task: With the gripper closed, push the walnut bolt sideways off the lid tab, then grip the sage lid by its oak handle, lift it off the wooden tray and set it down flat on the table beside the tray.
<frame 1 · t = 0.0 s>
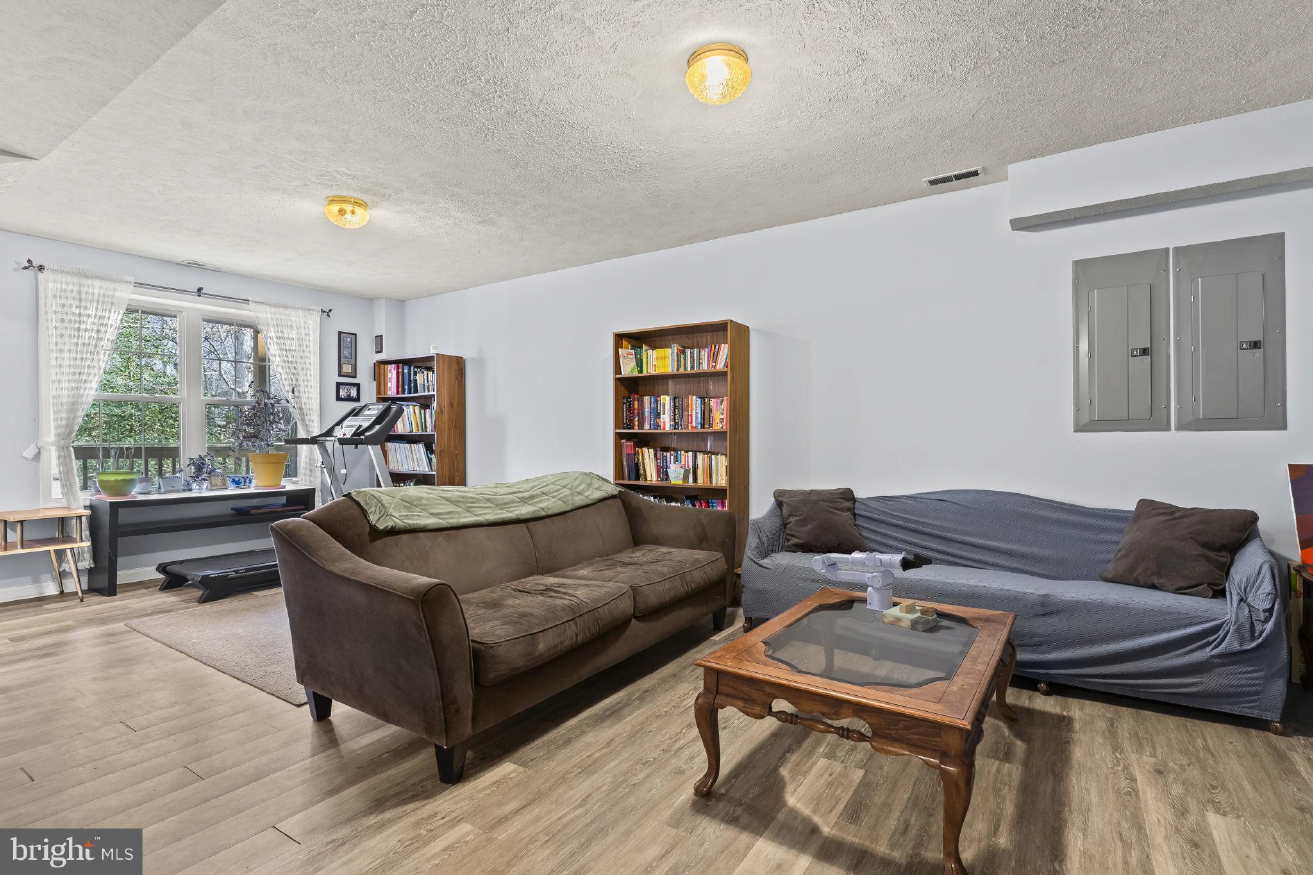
hand: (926, 563, 244), 22 cm above the table, tool horizontal, fingers open, 7 cm apart
bolt: (927, 611, 236), point 5 cm above the table, slide at 0.0 cm
lid: (907, 612, 242), point 3 cm above the table, touching wooden tray
wooden tray: (908, 620, 242), on the table
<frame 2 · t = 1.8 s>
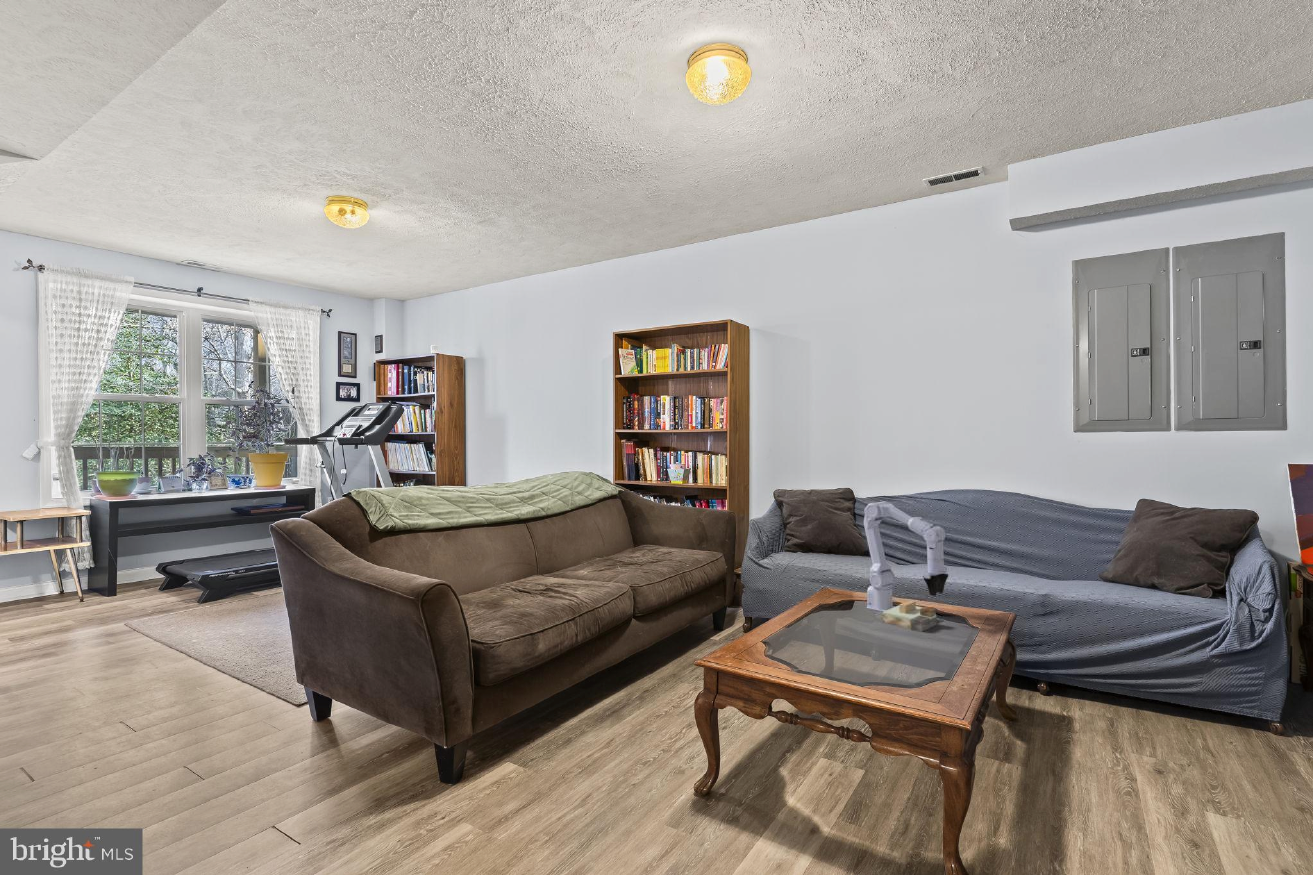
hand: (936, 593, 240), 10 cm above the table, tool pointing down, fingers open, 5 cm apart
nothing on the table moved.
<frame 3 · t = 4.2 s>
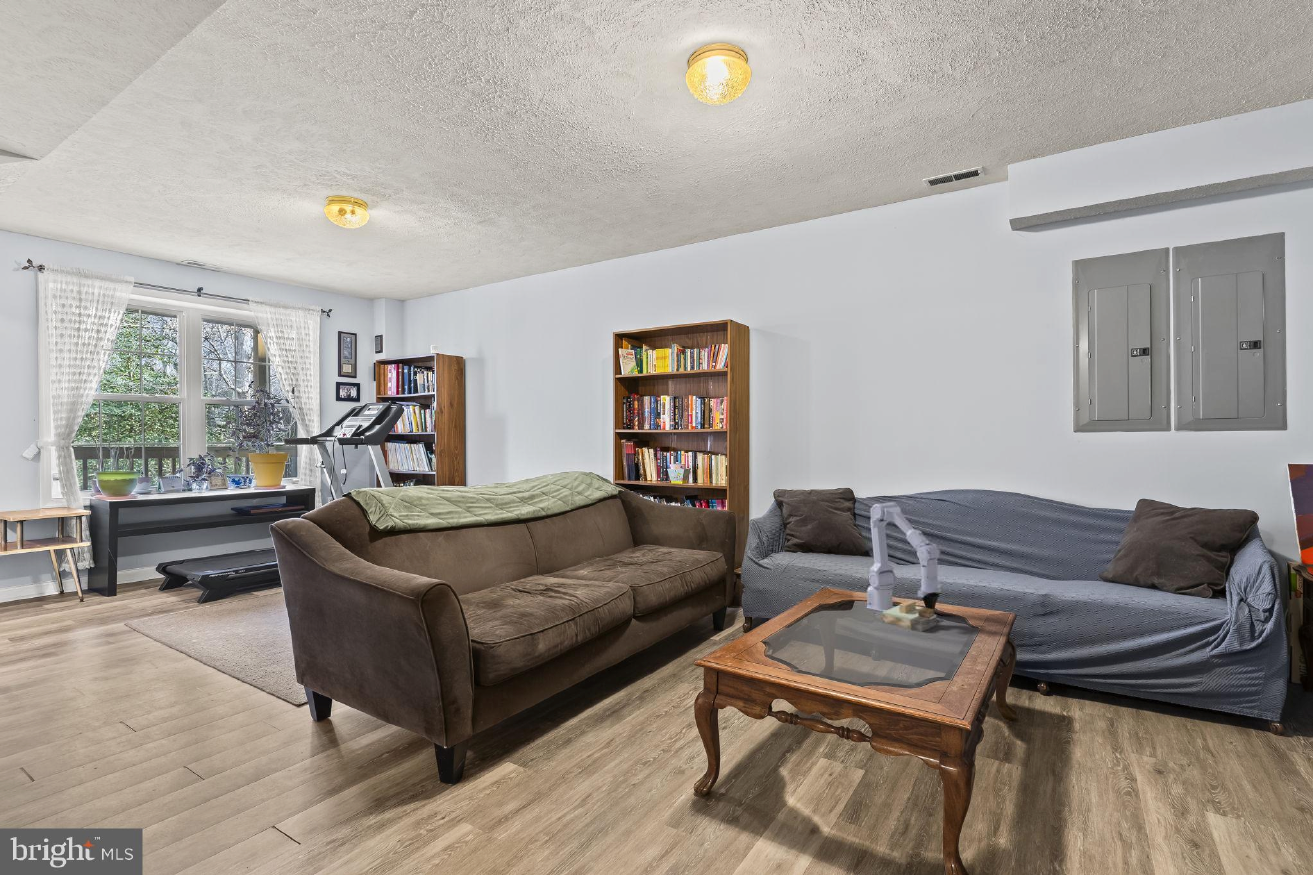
hand: (930, 612, 237), 4 cm above the table, tool pointing down, fingers closed
bolt: (926, 612, 235), point 5 cm above the table, slide at 1.3 cm, touching gripper
everything else where it was.
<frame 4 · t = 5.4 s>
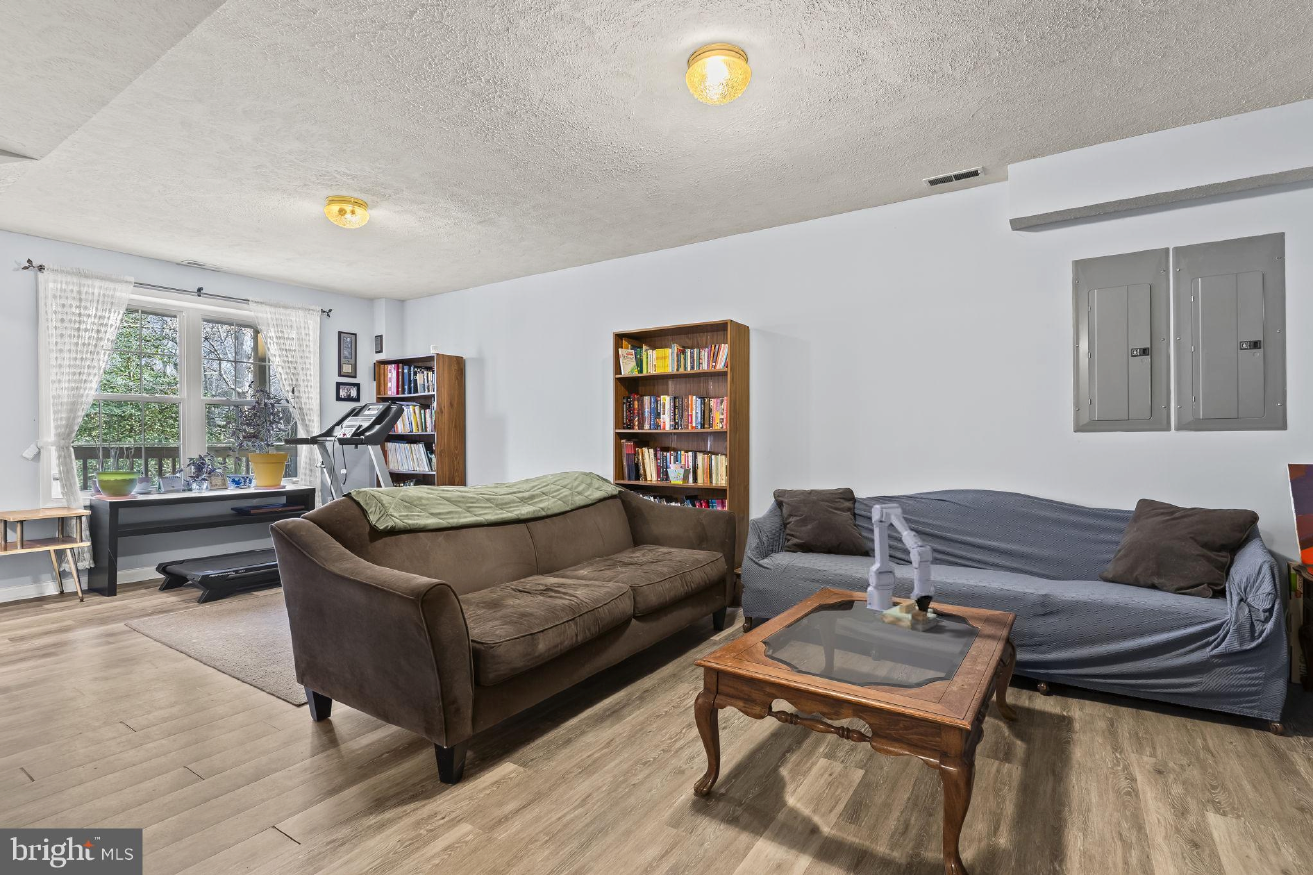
hand: (923, 615, 233), 4 cm above the table, tool pointing down, fingers closed
bolt: (919, 615, 231), point 5 cm above the table, slide at 6.6 cm, touching gripper
everything else where it was.
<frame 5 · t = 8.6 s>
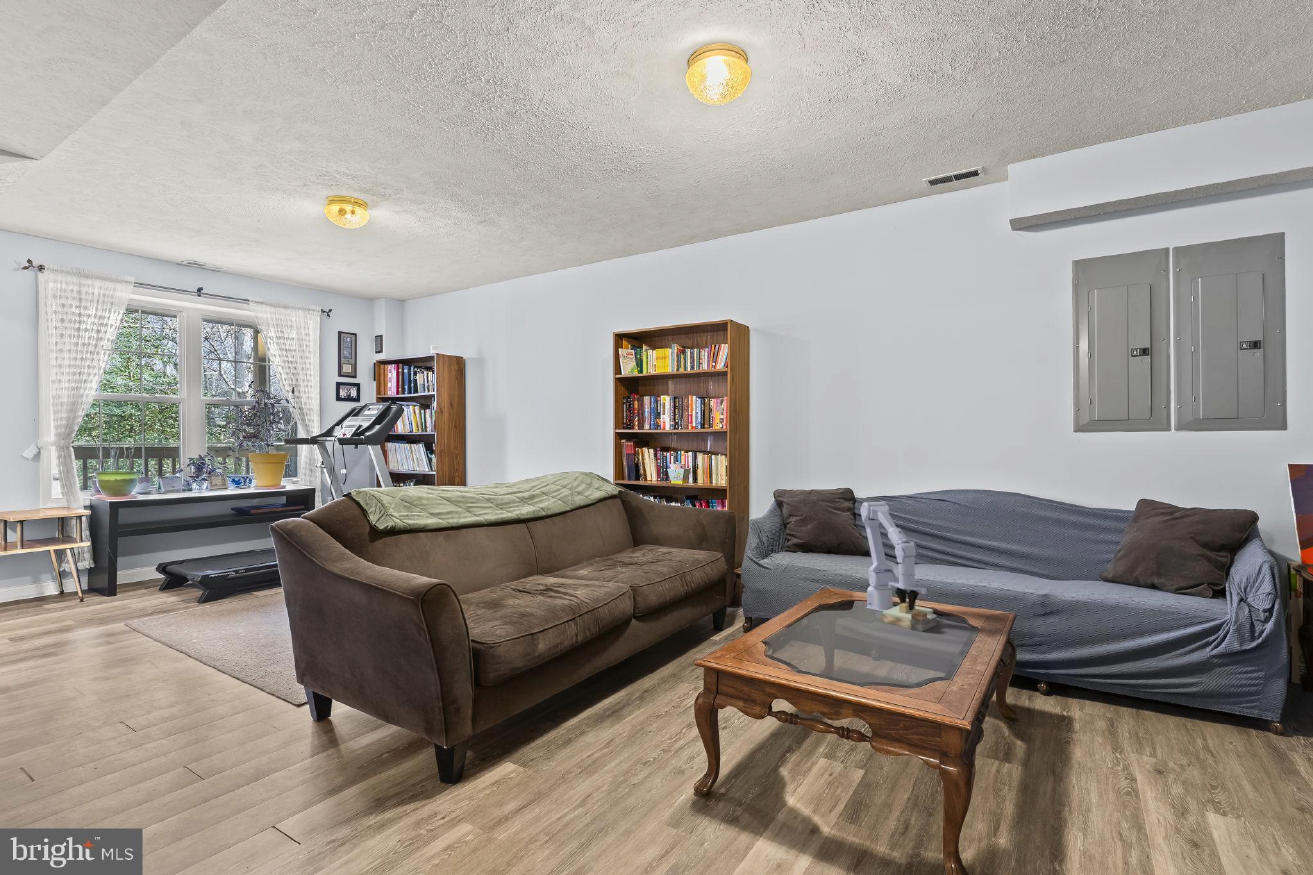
hand: (907, 608, 242), 5 cm above the table, tool pointing down, fingers closed on lid, 2 cm apart
bolt: (919, 615, 231), point 5 cm above the table, slide at 6.7 cm
lid: (907, 612, 242), point 3 cm above the table, touching gripper, wooden tray
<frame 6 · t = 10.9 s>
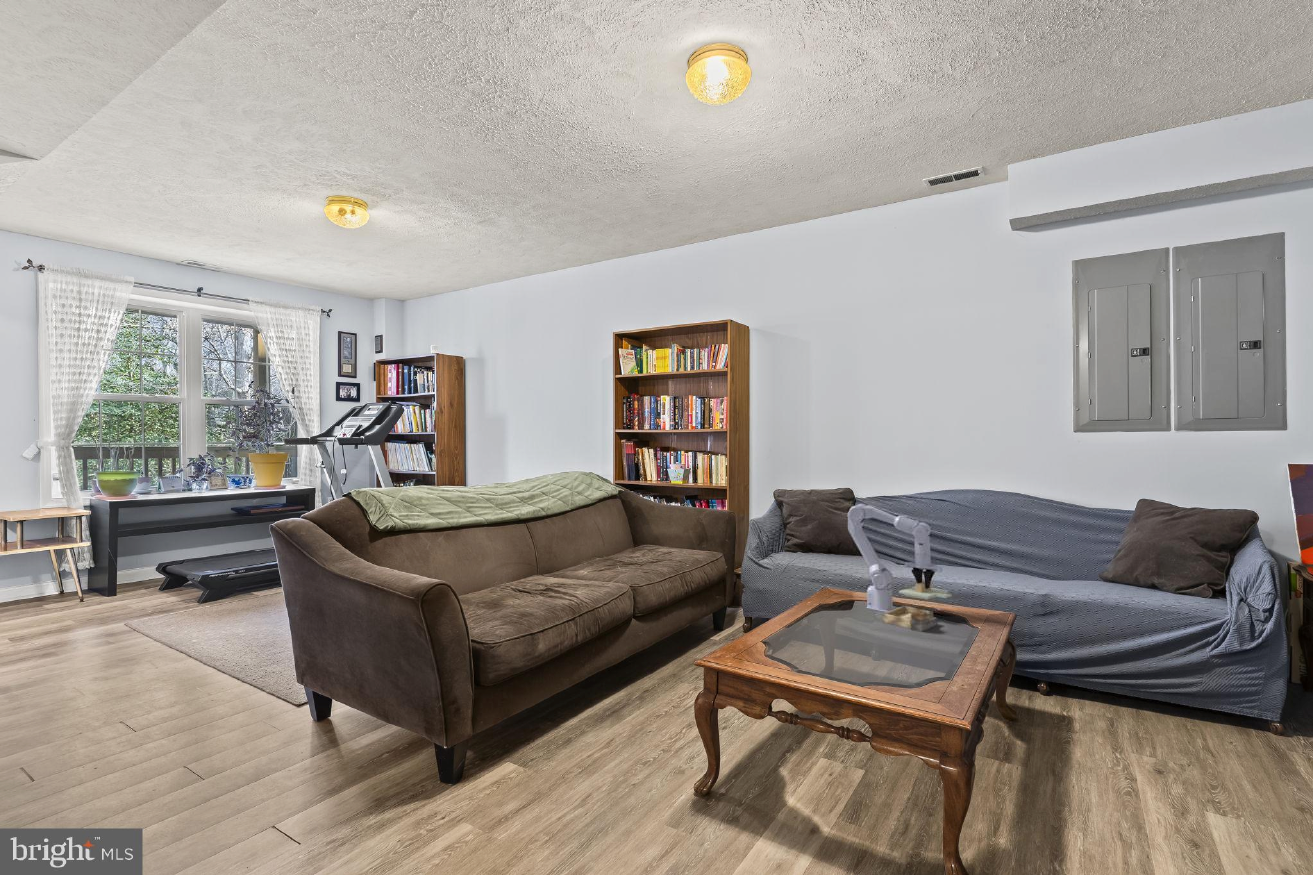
hand: (923, 587, 250), 10 cm above the table, tool pointing down, fingers closed on lid, 2 cm apart
lid: (923, 592, 249), point 8 cm above the table, touching gripper
everything else where it was.
when the fingers open (4 cm above the table, at t = 13.0 s): lid stays where it is, point 1 cm above the table.
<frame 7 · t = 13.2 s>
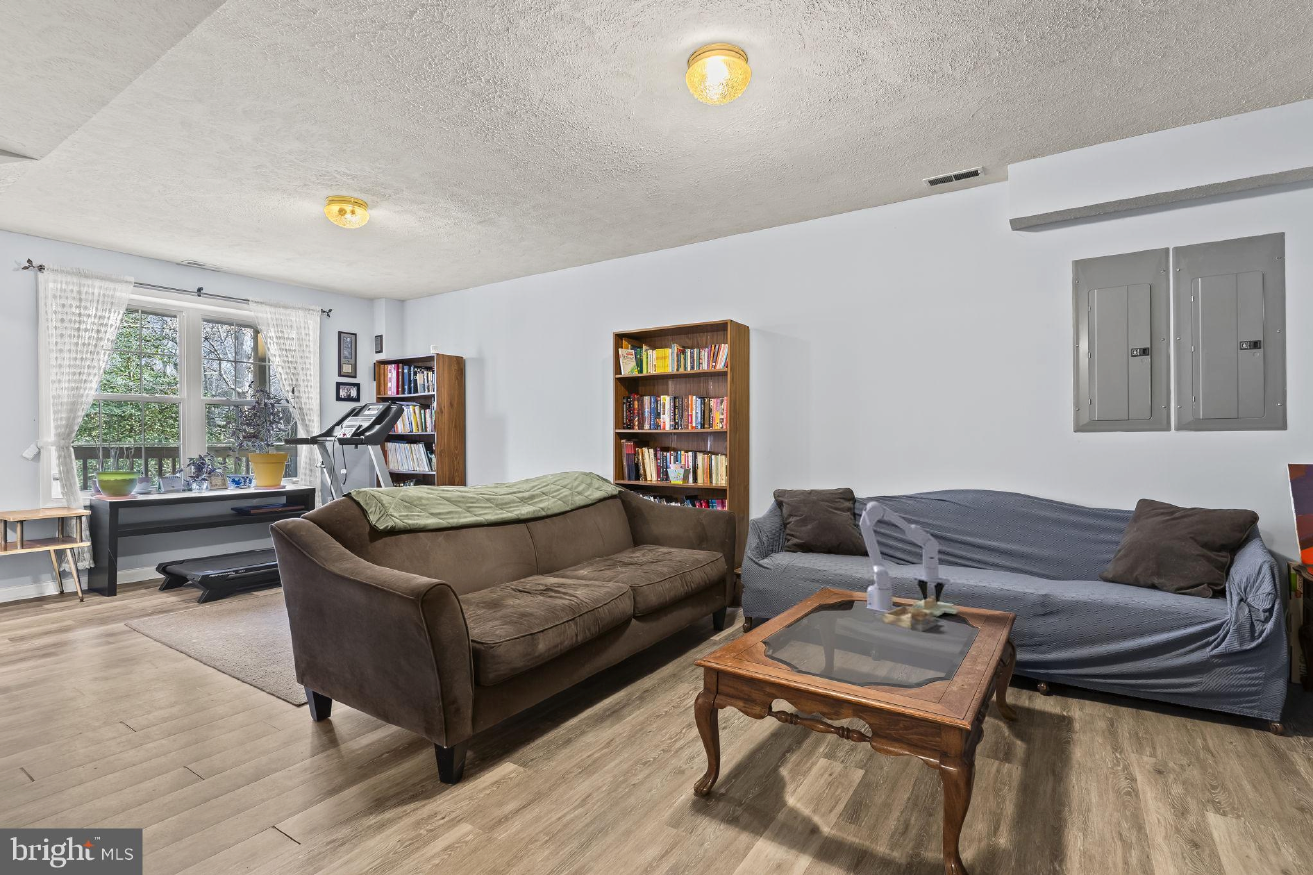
hand: (931, 600, 254), 4 cm above the table, tool pointing down, fingers open, 4 cm apart
lid: (931, 608, 254), point 1 cm above the table
everything else where it was.
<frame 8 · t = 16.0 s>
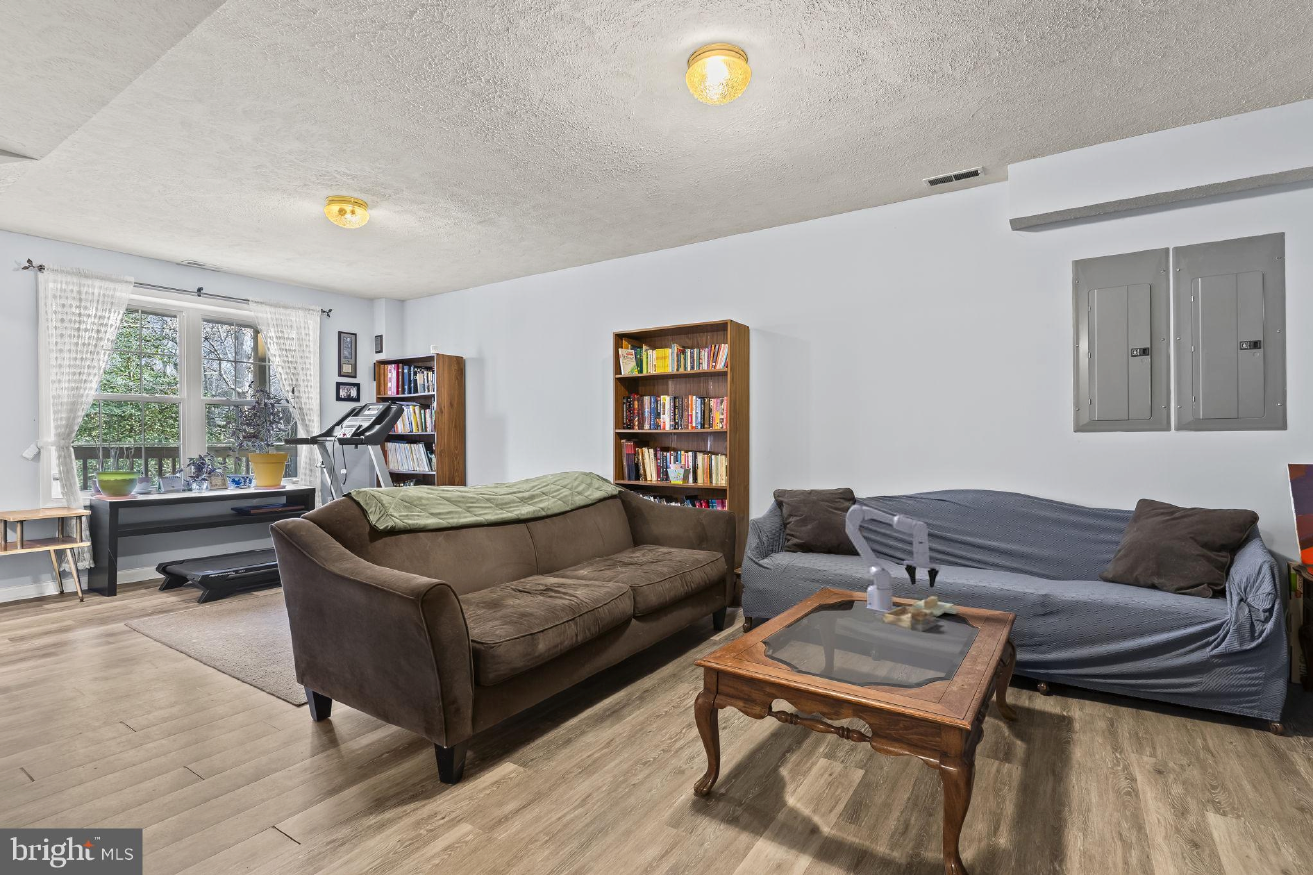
hand: (922, 585, 253), 10 cm above the table, tool pointing down, fingers open, 7 cm apart
nothing on the table moved.
at the end: bolt slide at 6.7 cm; lid inside the target area (0.5 cm from its centre), point 1.0 cm above the table; lid tilted 0° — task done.
